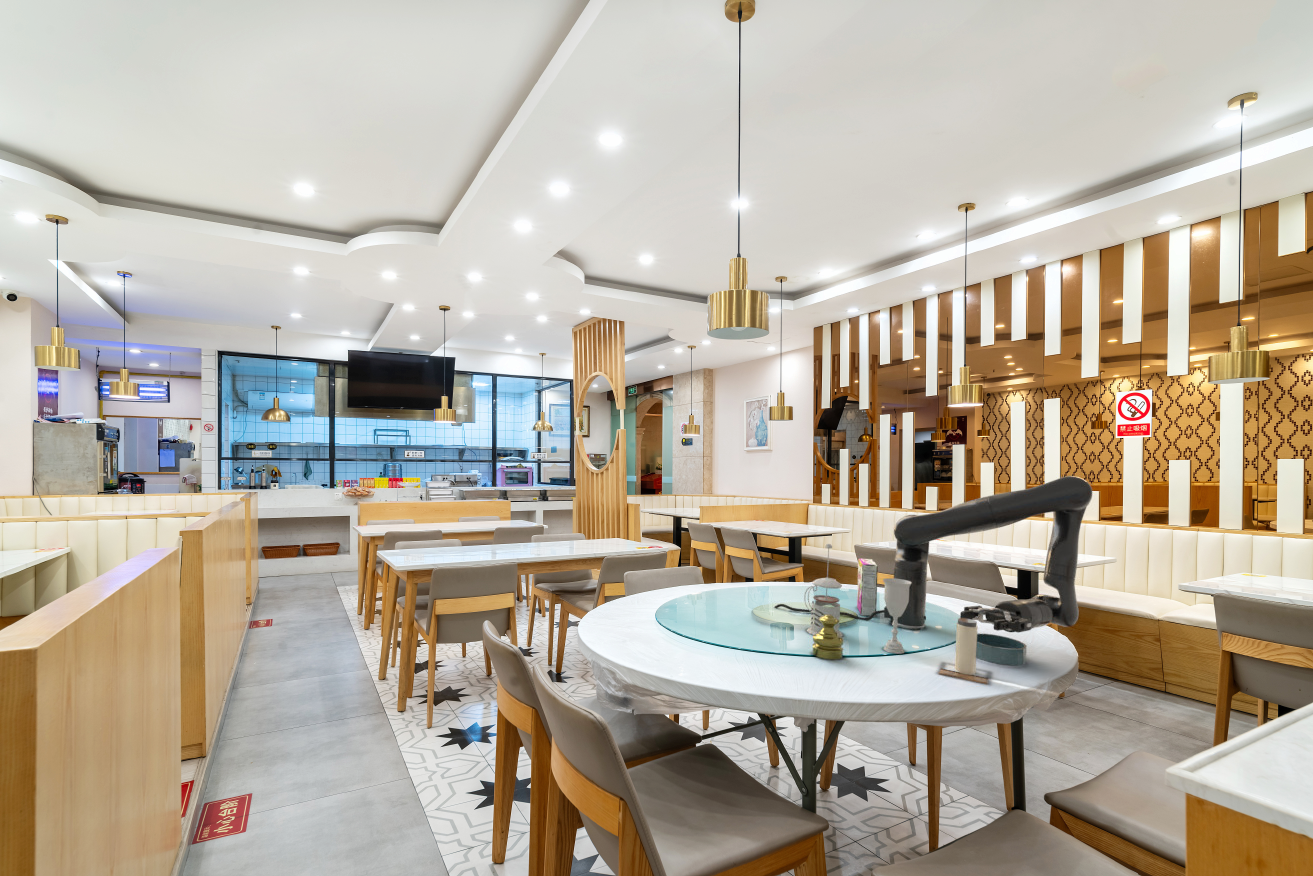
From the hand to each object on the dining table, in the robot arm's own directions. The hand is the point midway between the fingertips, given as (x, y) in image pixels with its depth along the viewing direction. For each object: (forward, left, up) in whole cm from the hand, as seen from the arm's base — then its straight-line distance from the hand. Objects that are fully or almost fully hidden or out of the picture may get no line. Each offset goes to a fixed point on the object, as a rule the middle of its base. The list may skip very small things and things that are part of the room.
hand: (978, 620), depth 148 cm
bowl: (+4, +14, -12) cm, 19 cm away
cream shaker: (-2, -4, -11) cm, 12 cm away
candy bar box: (-34, +40, -12) cm, 54 cm away
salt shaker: (-32, -13, -12) cm, 37 cm away
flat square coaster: (-2, -4, -12) cm, 13 cm away
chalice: (-19, +3, -12) cm, 23 cm away
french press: (-39, +7, -12) cm, 42 cm away
